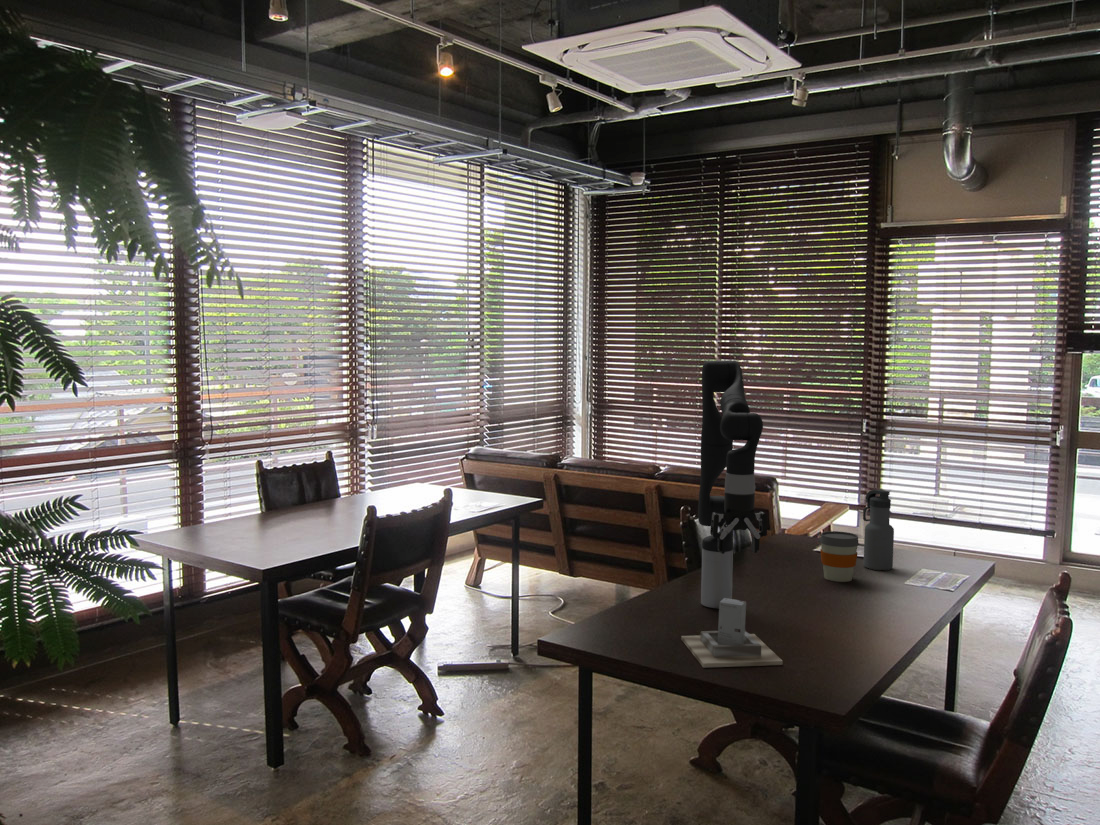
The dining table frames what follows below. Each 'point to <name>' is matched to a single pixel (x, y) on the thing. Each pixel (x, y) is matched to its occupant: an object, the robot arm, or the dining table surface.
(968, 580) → the dining table surface
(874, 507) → the water bottle
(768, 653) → the square frame tray
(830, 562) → the reusable coffee cup
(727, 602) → the skincare box
